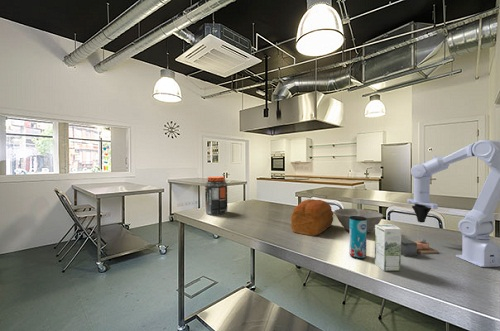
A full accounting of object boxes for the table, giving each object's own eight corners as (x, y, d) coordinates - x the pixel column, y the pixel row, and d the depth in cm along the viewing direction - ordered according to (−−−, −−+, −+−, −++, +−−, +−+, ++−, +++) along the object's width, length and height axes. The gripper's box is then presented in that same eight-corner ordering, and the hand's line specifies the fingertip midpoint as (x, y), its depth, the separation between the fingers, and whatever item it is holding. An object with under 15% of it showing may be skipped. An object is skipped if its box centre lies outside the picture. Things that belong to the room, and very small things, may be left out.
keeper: (416, 255, 90) (416, 242, 90) (404, 256, 90) (404, 243, 90) (402, 248, 98) (402, 236, 98) (391, 248, 97) (391, 236, 97)
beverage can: (356, 260, 86) (357, 220, 86) (346, 254, 92) (346, 216, 91) (370, 258, 88) (370, 218, 87) (358, 252, 93) (358, 215, 93)
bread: (335, 225, 134) (335, 198, 134) (318, 237, 112) (318, 205, 112) (308, 221, 143) (308, 195, 143) (288, 232, 122) (288, 201, 121)
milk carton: (390, 263, 83) (390, 223, 83) (401, 271, 77) (401, 228, 77) (374, 264, 83) (374, 223, 83) (384, 272, 77) (384, 228, 77)
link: (424, 245, 98) (424, 238, 98) (431, 249, 94) (431, 241, 94) (391, 245, 98) (391, 238, 98) (397, 249, 94) (397, 241, 94)
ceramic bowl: (390, 239, 109) (390, 218, 108) (338, 236, 113) (338, 216, 113) (374, 226, 130) (374, 209, 130) (331, 224, 135) (331, 207, 135)
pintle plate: (438, 253, 93) (438, 251, 93) (421, 253, 92) (421, 251, 92) (424, 246, 100) (424, 244, 99) (408, 247, 99) (408, 245, 99)
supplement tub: (212, 210, 178) (212, 176, 177) (231, 211, 171) (231, 176, 171) (200, 214, 163) (200, 177, 163) (220, 216, 157) (220, 177, 156)
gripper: (401, 189, 111) (401, 218, 111) (426, 194, 96) (426, 226, 97) (415, 189, 111) (415, 218, 111) (442, 193, 97) (442, 226, 97)
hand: (421, 222), depth 104 cm, fingers closed
